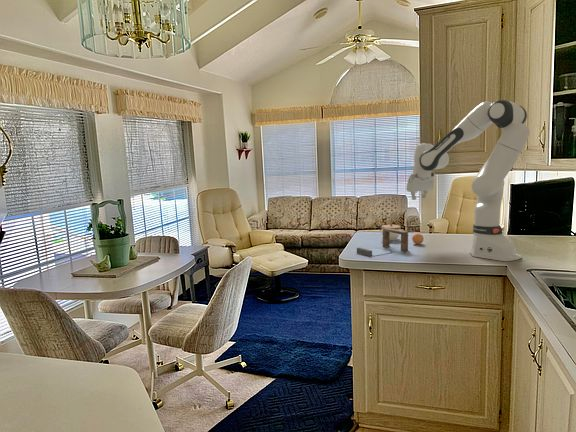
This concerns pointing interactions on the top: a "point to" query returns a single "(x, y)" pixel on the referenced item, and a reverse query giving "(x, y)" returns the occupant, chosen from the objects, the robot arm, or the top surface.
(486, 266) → the top surface
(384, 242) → the bridge
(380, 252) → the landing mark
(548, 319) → the top surface
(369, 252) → the stopper
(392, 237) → the lidded jar
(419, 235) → the ball
